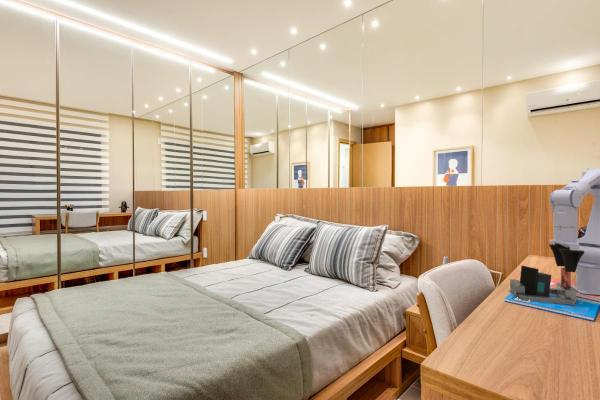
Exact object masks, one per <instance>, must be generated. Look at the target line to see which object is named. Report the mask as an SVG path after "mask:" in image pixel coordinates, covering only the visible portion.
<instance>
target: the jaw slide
mask: <svg viewBox="0 0 600 400" xmlns="http://www.w3.org/2000/svg"><path fill="white" fill-rule="evenodd" d="M571 273H572V272H566V270H565V267H561V268H560V282H556V283H555V286H556V288H555V289H556V294H555V295H556V296H557V297H558V298H566V299H573V300H574V301H575V303H576V304H577V290H575V289H574V288H572V287H571V286H572V275H571Z"/></svg>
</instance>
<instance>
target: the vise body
mask: <svg viewBox="0 0 600 400" xmlns="http://www.w3.org/2000/svg"><path fill="white" fill-rule="evenodd" d="M509 280H510V281H509V282H510V283H509V286H510V287H509V289H510V292H511V294H512V295H513V294H514V295H513V296H514V297H515V298H516V297H518V298H519V299H521V300H520V301H524V300H530V301H529V302H534V301H537V303H544V302H548V303H547V304H554V303H557V304H556V305H564V304H571V305H570V306H574V305H576V304H575V301H574V300H573V299H566V298H560V297H555V296H554V297H553V296H549V297H545V296H535V295H525V286H524V285H523V284H522V283H520V279H513V278H511V279H509ZM549 295H556V288H554V287H553V288H551V287H550V292H549ZM518 298H517V299H518ZM519 299H518V300H519Z"/></svg>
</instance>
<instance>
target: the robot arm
mask: <svg viewBox="0 0 600 400" xmlns="http://www.w3.org/2000/svg"><path fill="white" fill-rule="evenodd" d="M588 194H590V195H593V196H594V200H593V203H592V207H591V211H590V214H589V219H588V223H587V226H586V229H585V233H584V235H583V236H582V237H579V238H578V234H579V232H578V225H579V224H578V208H580V207H581V205H582V202H583V200H584V197H586V196H587V195H588ZM549 204H550V206H551V212H552V213H553V239H549V242H550V243H553V244H548V246H549V248H550V250H551V251H552V254H553V257H554V261H555V264H556V266H557V267H562V268H565V270H566V272H571V273H575V275H576V276H575V280H576V281H575V284H576V285H571V288H573V289H574V290H575V291H576V292H578V293H579V294H583V295H585V294H586V295H594V296H596V295H598V296H600V168H597V167H596V168H585V169H584V170H583V171H582V173H581V178H579V179H577V178H576V179H572V180H570V182H569V183H568V184H567V185H565V186H563V188H561V189H555V190H553V191H552V192H551V193H550V197H549Z"/></svg>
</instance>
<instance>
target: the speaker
mask: <svg viewBox="0 0 600 400" xmlns="http://www.w3.org/2000/svg"><path fill="white" fill-rule="evenodd" d="M519 281H520V283H522V284H523V285H524V286H525V295H535V296H545V297H550V294H549V292H550V288H551V282H552V274H548V273H544V272H539V268H535V267H530V266H525V265H521V267H520V276H519Z"/></svg>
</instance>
